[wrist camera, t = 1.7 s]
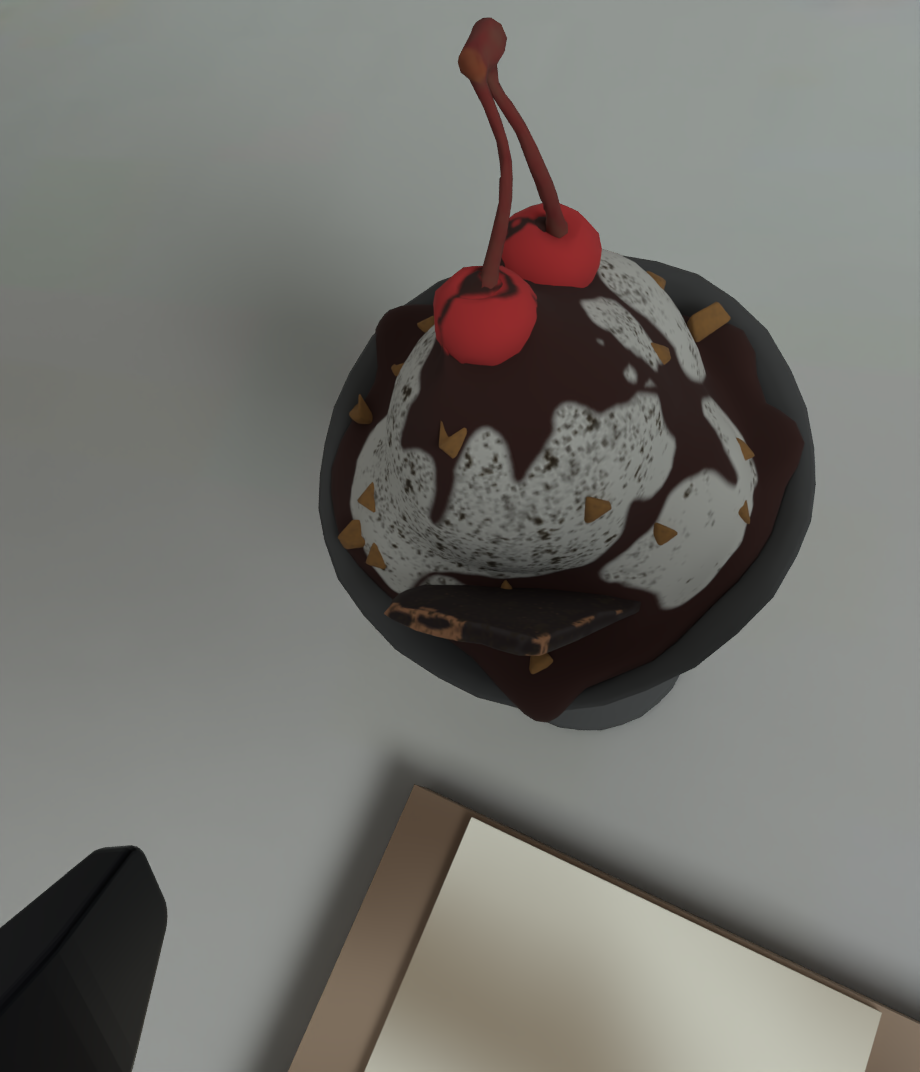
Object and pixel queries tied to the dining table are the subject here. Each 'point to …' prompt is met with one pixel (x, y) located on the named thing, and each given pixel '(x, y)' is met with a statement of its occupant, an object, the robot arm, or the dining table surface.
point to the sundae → (564, 463)
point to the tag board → (566, 973)
